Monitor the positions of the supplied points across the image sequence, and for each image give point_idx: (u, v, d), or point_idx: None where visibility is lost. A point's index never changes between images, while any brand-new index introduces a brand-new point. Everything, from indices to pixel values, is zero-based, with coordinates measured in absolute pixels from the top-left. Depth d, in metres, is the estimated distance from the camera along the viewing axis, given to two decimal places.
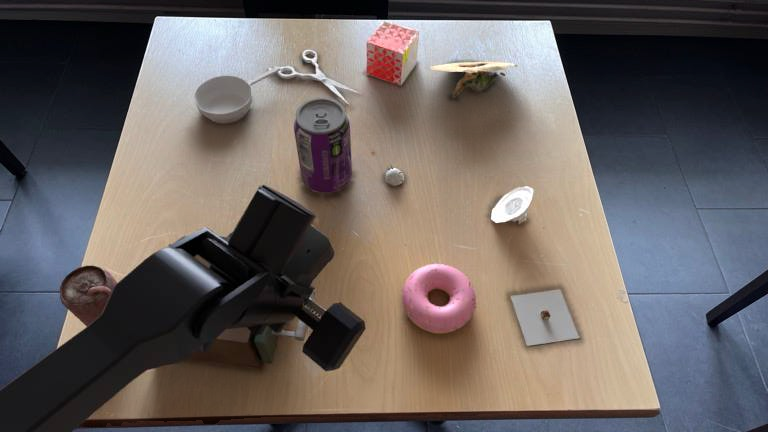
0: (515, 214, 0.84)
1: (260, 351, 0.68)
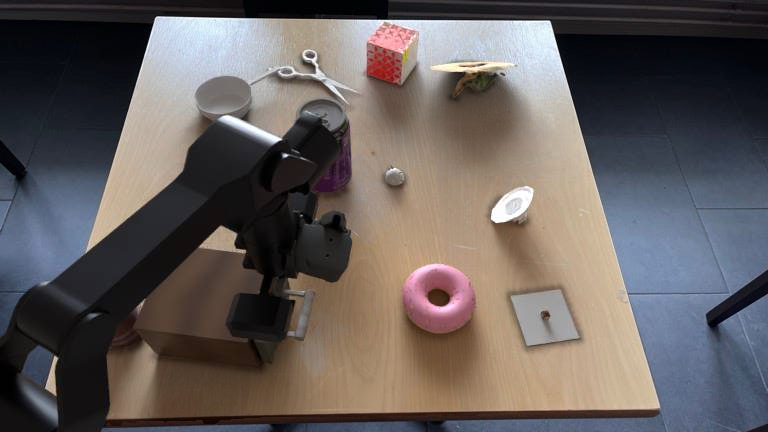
0: (515, 214, 0.84)
1: (260, 351, 0.68)
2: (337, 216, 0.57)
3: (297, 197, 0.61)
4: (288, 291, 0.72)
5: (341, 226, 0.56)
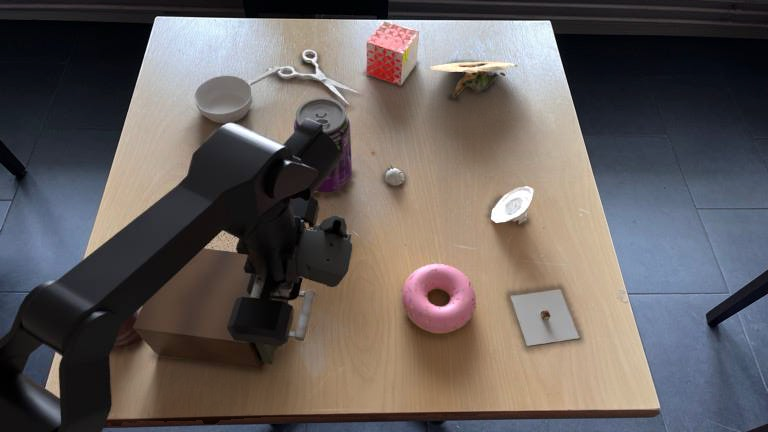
0: (515, 214, 0.84)
1: (260, 351, 0.68)
2: (337, 221, 0.58)
3: (298, 202, 0.62)
4: None
5: (341, 231, 0.57)
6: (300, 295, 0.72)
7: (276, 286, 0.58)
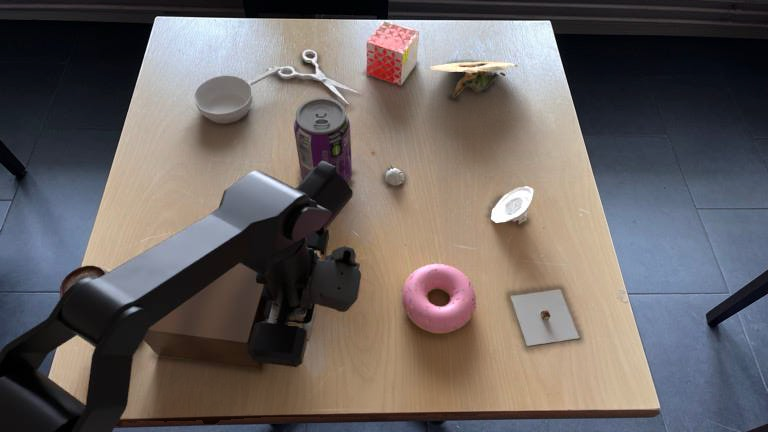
0: (515, 214, 0.84)
1: None
2: (347, 251, 0.63)
3: None
4: None
5: (351, 261, 0.62)
6: None
7: (291, 311, 0.63)
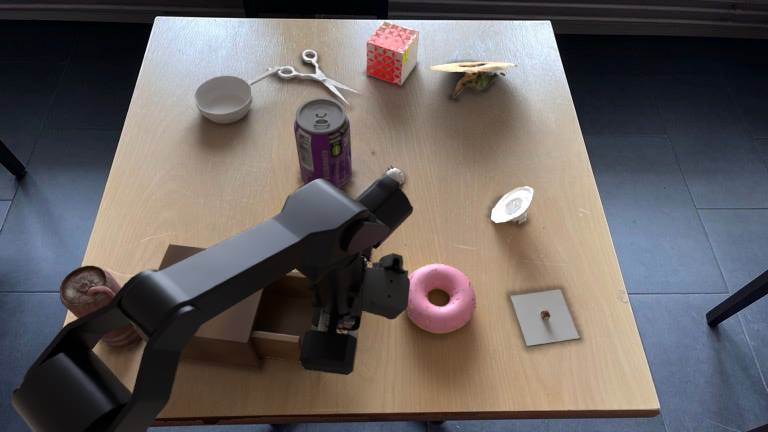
0: (515, 214, 0.84)
1: None
2: (396, 259, 0.63)
3: None
4: None
5: (400, 268, 0.62)
6: None
7: (340, 318, 0.63)
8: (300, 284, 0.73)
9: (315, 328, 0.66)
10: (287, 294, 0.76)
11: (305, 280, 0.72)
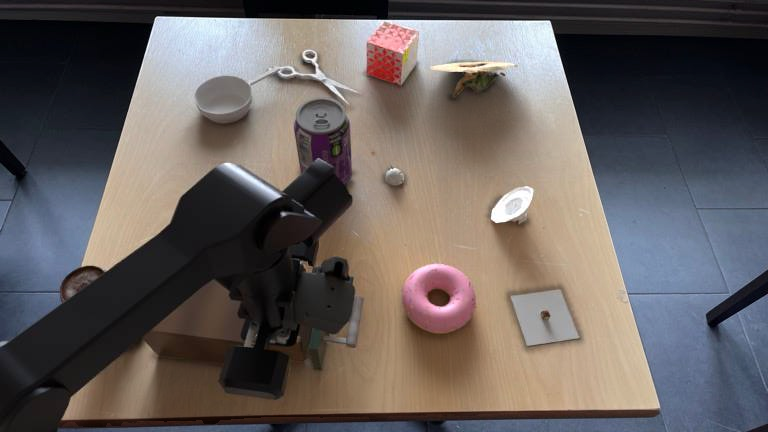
0: (515, 214, 0.84)
1: (312, 358, 0.67)
2: (339, 262, 0.54)
3: None
4: None
5: (343, 274, 0.53)
6: None
7: (272, 332, 0.53)
8: None
9: None
10: None
11: None
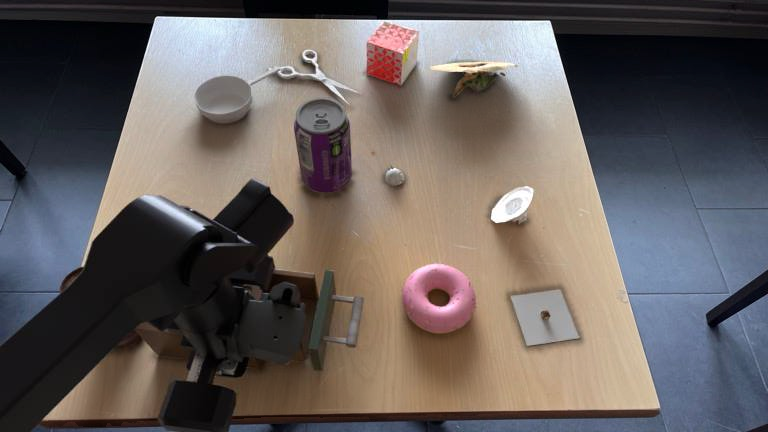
0: (515, 214, 0.84)
1: (312, 358, 0.67)
2: (288, 289, 0.51)
3: None
4: (337, 297, 0.72)
5: (292, 301, 0.50)
6: (349, 301, 0.72)
7: (218, 363, 0.51)
8: (301, 284, 0.73)
9: (316, 328, 0.66)
10: None
11: (306, 280, 0.72)
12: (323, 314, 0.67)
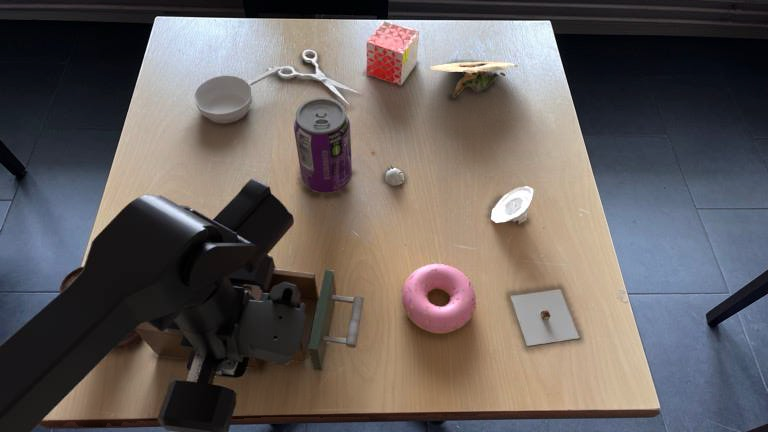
0: (515, 214, 0.84)
1: (312, 358, 0.67)
2: (288, 289, 0.51)
3: None
4: (337, 297, 0.72)
5: (292, 302, 0.50)
6: (349, 301, 0.72)
7: (218, 363, 0.51)
8: (301, 284, 0.73)
9: (316, 328, 0.66)
10: None
11: (306, 280, 0.72)
12: (323, 314, 0.67)
